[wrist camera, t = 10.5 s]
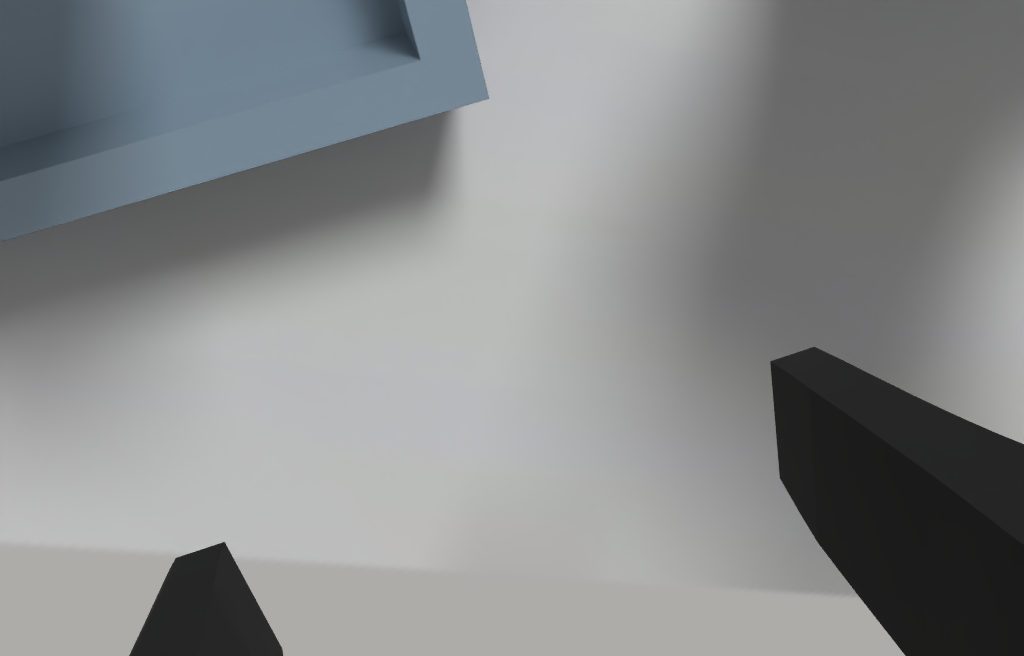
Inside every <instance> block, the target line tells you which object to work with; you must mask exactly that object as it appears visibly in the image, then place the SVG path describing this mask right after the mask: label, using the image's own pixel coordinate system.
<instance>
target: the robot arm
mask: <svg viewBox="0 0 1024 656" xmlns="http://www.w3.org/2000/svg"><path fill="white" fill-rule="evenodd" d="M770 363H771V375H772V387H773V399H774V411H775V423H776V435H777V447H778V459H779V472H780V479H781V481H782V482H783V484H784V486H785V488H786V489H787V491H788V493H789V495H790V496H791V498H792V500H793V502H794V503H795V505H796V507H797V509H798V510H799V512H800V514H801V516H802V517H803V519H804V520H805V522H806V524H807V525H808V527H809V529H810V530H811V532H812V534H813V535H814V537H815V539H816V540H817V542H818V543H819V545H820V546H821V547H822V549H823V550H824V551H825V553H826V554H827V555H828V557H829V558H830V559H831V560H832V562H833V563H834V564H835V566H836V567H837V568H838V570H839V571H840V572H841V573H842V575H843V576H844V577H845V579H846V580H847V581H848V583H849V584H850V585H851V586H852V588H853V589H854V590H855V592H856V593H857V594H858V596H859V597H860V598H861V599H862V600H863V602H864V603H865V604H866V606H867V607H868V608H869V610H870V611H871V612H872V613H873V615H874V616H875V617H876V619H877V620H878V621H879V622H880V624H881V625H882V626H883V627H884V629H885V630H886V631H887V632H888V634H889V635H890V636H891V637H892V639H893V640H894V642H895V643H896V644H897V645H898V647H899V648H900V649H901V650H902V652H903V653H904V654H905V655H906V656H1024V444H1022V443H1019V442H1017V441H1014V440H1012V439H1009V438H1007V437H1004V436H1002V435H999V434H997V433H995V432H992V431H990V430H988V429H985V428H983V427H981V426H979V425H976V424H974V423H972V422H969V421H967V420H965V419H963V418H960V417H958V416H956V415H954V414H952V413H949V412H947V411H945V410H943V409H941V408H939V407H937V406H934V405H932V404H930V403H928V402H926V401H924V400H922V399H920V398H918V397H916V396H913V395H911V394H909V393H907V392H905V391H903V390H901V389H899V388H897V387H895V386H893V385H891V384H889V383H887V382H885V381H883V380H881V379H879V378H877V377H875V376H873V375H871V374H869V373H867V372H865V371H863V370H861V369H859V368H857V367H855V366H853V365H851V364H849V363H847V362H845V361H843V360H841V359H839V358H837V357H835V356H832V355H830V354H828V353H826V352H824V351H822V350H820V349H818V348H815V347H813V348H810V349H807V350H804V351H801V352H797V353H794V354H791V355H788V356H785V357H782V358H779V359H776V360H773V361H770ZM129 656H283V651H282V647H281V646H280V644H279V642H278V640H277V638H276V637H275V634H274V633H273V631H272V629H271V627H270V625H269V624H268V622H267V620H266V618H265V616H264V614H263V612H262V611H261V609H260V607H259V605H258V603H257V602H256V599H255V598H254V596H253V594H252V592H251V590H250V588H249V586H248V585H247V583H246V581H245V579H244V577H243V575H242V574H241V572H240V570H239V568H238V566H237V564H236V562H235V561H234V559H233V557H232V555H231V553H230V551H229V549H228V548H227V546H226V544H225V542H223V543H220V544H217V545H214V546H211V547H208V548H205V549H202V550H199V551H196V552H193V553H190V554H187V555H184V556H181V557H178V558H176V559H175V561H174V563H173V564H172V566H171V568H170V570H169V572H168V574H167V576H166V578H165V580H164V582H163V585H162V587H161V589H160V591H159V593H158V596H157V598H156V600H155V602H154V604H153V606H152V609H151V611H150V613H149V615H148V617H147V619H146V621H145V624H144V626H143V628H142V630H141V632H140V634H139V636H138V638H137V641H136V643H135V645H134V647H133V649H132V651H131V653H130V655H129Z"/></svg>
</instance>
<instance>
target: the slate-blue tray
mask: <svg viewBox="0 0 1024 656" xmlns="http://www.w3.org/2000/svg"><path fill="white" fill-rule="evenodd" d="M486 99H489V96H488V92H487V88H486V84H485V79H484V75H483V71H482V67H481V63H480V58H479V54H478V50H477V46H476V42H475V37H474V33H473V29H472V25H471V21H470V16H469V12H468V8H467V4H466V0H0V242H2V241H5V240H9V239H12V238H15V237H19V236H22V235H26V234H29V233H32V232H36V231H39V230H43V229H46V228H50V227H53V226H56V225H60V224H63V223H67V222H70V221H73V220H77V219H80V218H84V217H87V216H90V215H94V214H97V213H101V212H104V211H108V210H111V209H114V208H118V207H121V206H125V205H128V204H131V203H135V202H138V201H142V200H145V199H148V198H152V197H155V196H159V195H162V194H166V193H169V192H172V191H176V190H179V189H183V188H186V187H189V186H193V185H196V184H200V183H203V182H206V181H210V180H213V179H217V178H220V177H224V176H227V175H230V174H234V173H237V172H241V171H244V170H247V169H251V168H254V167H258V166H261V165H264V164H268V163H271V162H275V161H278V160H282V159H285V158H288V157H292V156H295V155H299V154H302V153H305V152H309V151H312V150H316V149H319V148H323V147H326V146H329V145H333V144H336V143H340V142H343V141H346V140H350V139H353V138H357V137H360V136H363V135H367V134H370V133H374V132H377V131H381V130H384V129H387V128H391V127H394V126H398V125H401V124H404V123H408V122H411V121H415V120H418V119H421V118H425V117H428V116H432V115H435V114H439V113H442V112H445V111H449V110H452V109H456V108H459V107H462V106H466V105H469V104H473V103H476V102H479V101H483V100H486Z"/></svg>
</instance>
